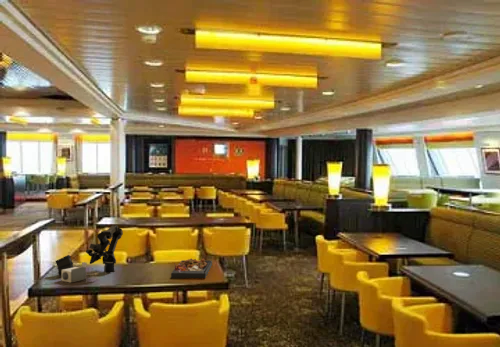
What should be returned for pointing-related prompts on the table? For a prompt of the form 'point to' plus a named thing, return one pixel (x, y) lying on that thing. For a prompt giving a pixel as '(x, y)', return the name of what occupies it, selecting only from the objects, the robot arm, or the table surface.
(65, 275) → the block
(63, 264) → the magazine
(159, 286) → the table surface
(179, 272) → the food platter
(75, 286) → the table surface
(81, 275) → the side door
